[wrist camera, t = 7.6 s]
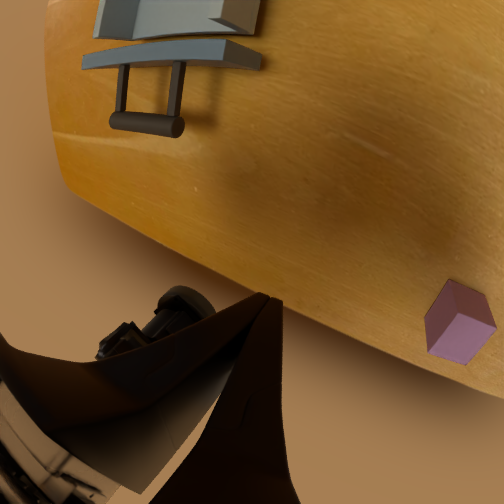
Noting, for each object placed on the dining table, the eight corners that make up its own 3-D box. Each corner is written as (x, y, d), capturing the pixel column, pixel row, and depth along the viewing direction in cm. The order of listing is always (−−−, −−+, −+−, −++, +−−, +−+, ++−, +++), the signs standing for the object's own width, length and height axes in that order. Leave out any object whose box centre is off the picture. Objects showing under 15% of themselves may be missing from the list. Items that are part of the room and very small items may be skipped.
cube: (459, 330, 18) (465, 365, 15) (423, 317, 19) (427, 353, 16) (484, 294, 16) (497, 328, 13) (448, 278, 17) (458, 312, 14)
